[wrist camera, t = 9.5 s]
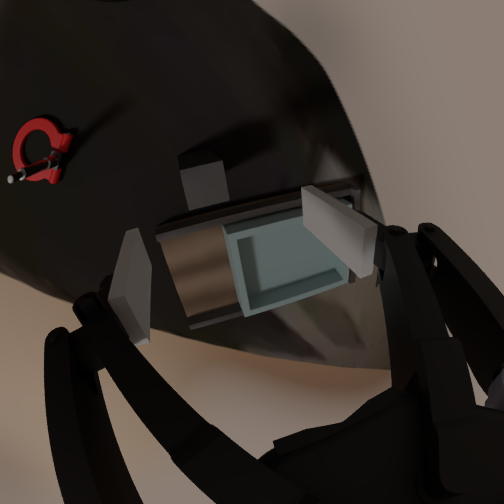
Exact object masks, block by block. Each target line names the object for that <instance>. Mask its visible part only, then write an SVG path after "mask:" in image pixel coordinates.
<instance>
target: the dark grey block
mask: <svg viewBox="0 0 504 504" xmlns="http://www.w3.org/2000/svg"><path fill="white" fill-rule="evenodd" d="M177 157H178V163H179V169H180V174H181V178H182V183H183V187H184V191H185V195H186V200H187V204H188V208H189V210H193V209H197V208H201V207H205V206H209V205H213V204H217V203H221V202H225V201H229V194H228V189H227V183H226V178H225V172H224V166H223V161H222V160H221V159H220V158H219V157H218V156H217V155H215V154H214V153H213V152H212V151H211V150H209V149H204V150H199V151H195V152H191V153H187V154H183V155H179V156H177Z"/></svg>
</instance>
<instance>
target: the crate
mask: <svg viewBox="0 0 504 504" xmlns="http://www.w3.org/2000/svg"><path fill="white" fill-rule="evenodd" d="M335 199H337V200H338V201H340V202H342V203H343V204H345V205H347V206H348V207H350V208H352V204H351V203H350V202H348V201H346V200H344V199H343V198H341V197H338V198H335ZM222 228H223V233H224V238H225V242H226V247H227V252H228V256H229V261H230V266H231V270H232V275H233V279H234V284H235V288H236V293H237V297H238V301H239V304H240V306H241V309H242V311H243V314H244V316H245V317H247V316H250V315H254V314H257V313H260V312H263V311H267V310H270V309H273V308H276V307H279V306H282V305H285V304H288V303H291V302H294V301H297V300H300V299H303V298H306V297H309V296H312V295H315V294H318V293H321V292H324V291H326V290H329V289H332V288H335V287H338V286H340V285H343V284H346V283H348V279H349V267H348V266H347V265H346V264H345V263H344V262H343V261H342V260H341V259H340V258H339V257H337V256H336V255H335V254H334V253H333V252H332V251H331V250H330V249H329V248H328V247H327V246H326V245H324V244H323V243H322V242H321V241H320V240H319V239H318V238H317V237H316V236H315V235H313V234H312V233H311V232H310V231H309V230H308V229H307V228H306V227H305V226H304V224H303V207H302V206H298V207H293V208H289V209H285V210H280V211H276V212H272V213H268V214H264V215H260V216H256V217H251V218H247V219H243V220H239V221H235V222H232V223H228V224H224V225H222Z"/></svg>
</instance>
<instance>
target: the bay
mask: <svg viewBox="0 0 504 504" xmlns="http://www.w3.org/2000/svg"><path fill="white" fill-rule="evenodd" d="M317 188H318V189H319V190H321V191H323V192H325V193H326V194H328V195H330V196H332V197H333V198H338V197H341V198H343V199H344V200H346V201H348V202H350V203H351V204H352V209H353V210H354V209H355V210H359V211H360V189H359V188H357V187H355V186H353V185H351V184H348V183H346V182H343V183H337V184H332V185H327V186H322V187H317ZM298 206H302V193H301V191H297V192H292V193H288V194H283V195H278V196H274V197H269V198H265V199H260V200H256V201H252V202H248V203H243V204H239V205H235V206H231V207H227V208H223V209H219V210H215V211H211V212H207V213H203V214H199V215H195V216H192V217H188V218H184V219H180V220H177V221H173V222H169V223H166V224H162V225H159V226H156V234H155V236H156V239H157V242H160V243H161V246H162V249H163V252H164V255H165V258H166V261H167V264H168V267H169V270H170V272H171V275H172V278H173V281H174V283H175V286H176V289H177V291H178V294H179V297H180V299H181V302H182V305H183V307H184V310H185V312H186V315H187V317H188V323H189V327H190V329H191V330H192V329H195V328H199V327H203V326H207V325H210V324H214V323H217V322H221V321H225V320H228V319H232V318H235V317H238V316H242V315H244V314H243V311H242V309H241V306H240V304H239V301H238V297H237V293H236V288H235V284H234V279H233V275H232V270H231V266H230V261H229V256H228V252H227V247H226V242H225V238H224V233H223V228H222V225H224V224H228V223H232V222H235V221H239V220H243V219H247V218H251V217H256V216H260V215H264V214H268V213H272V212H276V211H280V210H285V209H289V208H293V207H298ZM355 276H356V274H355V273H354V272H353V271H352V270H351V269H350V268H349V279H348V282H349V283H350V284H351V283H353V282H355Z"/></svg>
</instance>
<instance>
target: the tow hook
mask: <svg viewBox="0 0 504 504" xmlns="http://www.w3.org/2000/svg"><path fill="white" fill-rule="evenodd" d="M36 129H40V130H43V131H45V132H46V133H47V134H48V136H49V138H50V141H51V145H52V147H55V148H57V150H54V151H52V152H51V155H50V156H49V157H46V158H43V159H42V160H41V161H38V162H36V163H33V164H30V165H27V164H26V163H25V161H24V158H23V153H22V152H23V144H24V141H25V139H26V137H27V136H28V135H29V134H30V133H31V132H32V131H34V130H36ZM72 137H73V135H72V134H70V133H61V132H60V130H59V128H58V127H57V126H56V124H55V123H54V122H52V121H51V120H50V119H46V118H35V119H32V120H30V121H28V122H27V123H26V124H25V125H23V127H22V128H21V129H20V131H19V132H18V134H17V136H16V138H15V141H14V146H13V160H14V164H15V167H16V169H17V171H18V172H16V173H14V174H12V175H9V176H8V182H9V183H10V184H11V183H13V182H15V181H17V180H24V179H27V180H30V181H39V180H42V179H44V178H45V179H47V180H49V182H50V183H52V184H57V183H58V180H59V177H60V173H61V170H62V167H63V166H64V162H65V159H66V156H67V153H68V152H67V151H68V148H69V145H70V142H71V140H72Z"/></svg>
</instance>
